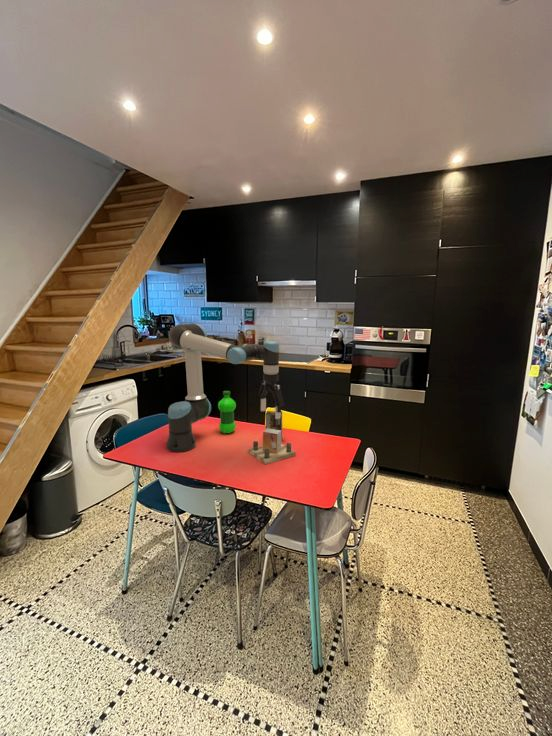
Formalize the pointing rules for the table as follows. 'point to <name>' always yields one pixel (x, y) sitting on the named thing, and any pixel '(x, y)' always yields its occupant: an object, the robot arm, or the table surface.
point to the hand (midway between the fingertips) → (270, 414)
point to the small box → (272, 440)
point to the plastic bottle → (227, 413)
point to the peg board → (271, 457)
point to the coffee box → (273, 421)
